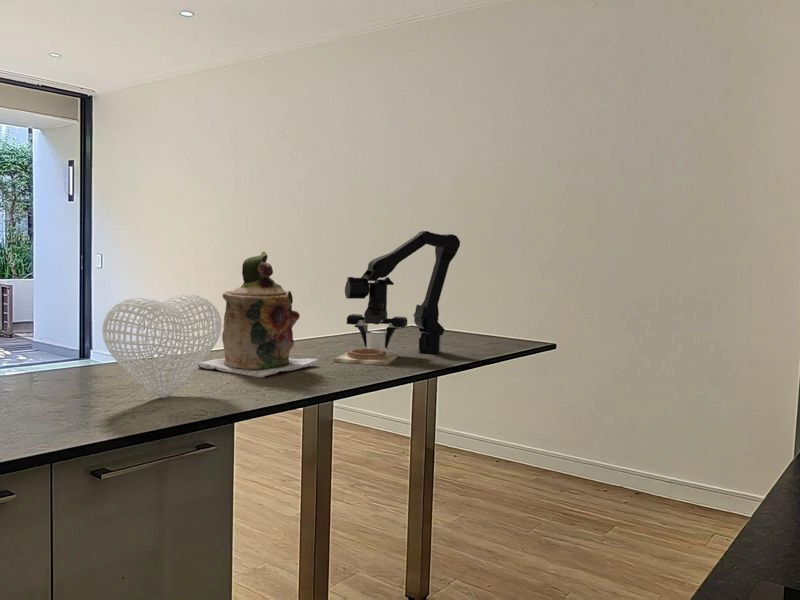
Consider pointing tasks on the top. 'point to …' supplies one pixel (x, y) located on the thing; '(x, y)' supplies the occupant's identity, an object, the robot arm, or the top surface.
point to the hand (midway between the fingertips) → (376, 347)
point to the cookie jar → (258, 325)
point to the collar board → (366, 357)
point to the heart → (162, 339)
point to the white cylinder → (376, 340)
